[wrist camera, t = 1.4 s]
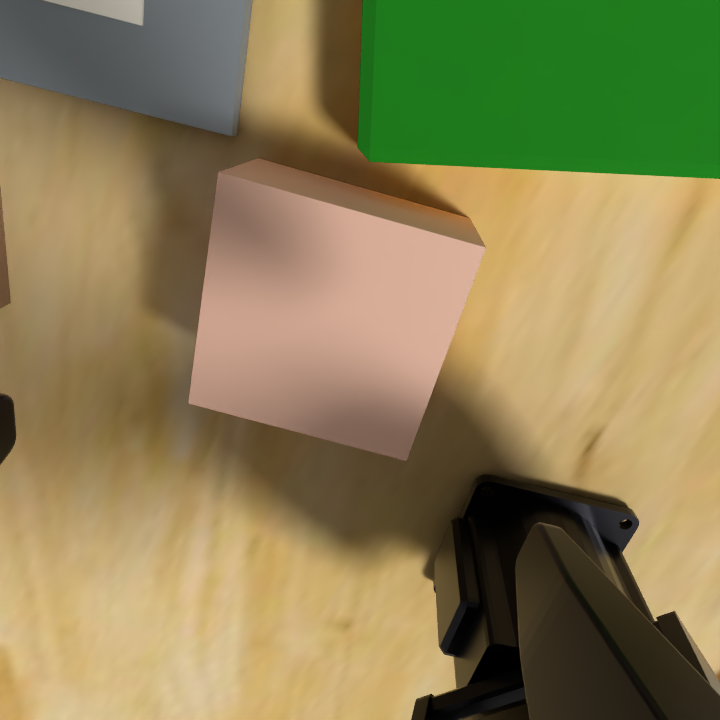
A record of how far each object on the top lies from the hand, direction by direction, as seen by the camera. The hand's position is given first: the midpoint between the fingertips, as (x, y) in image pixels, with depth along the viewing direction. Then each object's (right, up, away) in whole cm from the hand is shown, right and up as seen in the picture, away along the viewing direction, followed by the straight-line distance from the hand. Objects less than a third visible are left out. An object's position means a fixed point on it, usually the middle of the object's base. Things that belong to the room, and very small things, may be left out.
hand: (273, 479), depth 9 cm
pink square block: (+1, +5, +9) cm, 10 cm away
